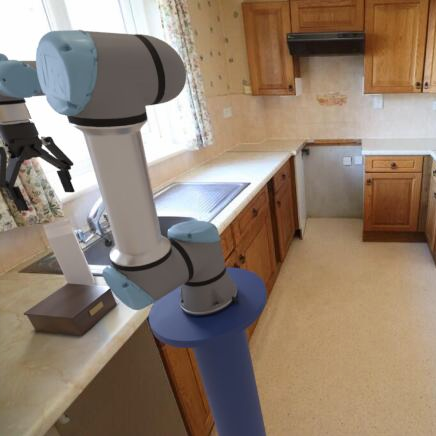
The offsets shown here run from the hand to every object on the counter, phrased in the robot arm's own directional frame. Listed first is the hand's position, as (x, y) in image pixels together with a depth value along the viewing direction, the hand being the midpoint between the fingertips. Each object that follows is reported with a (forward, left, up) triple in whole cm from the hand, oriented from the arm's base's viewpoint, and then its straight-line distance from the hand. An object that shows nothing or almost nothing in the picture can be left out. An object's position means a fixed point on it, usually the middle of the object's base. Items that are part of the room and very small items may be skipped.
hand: (48, 200), depth 90 cm
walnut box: (-11, +14, -28) cm, 33 cm away
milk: (0, +1, -29) cm, 29 cm away
